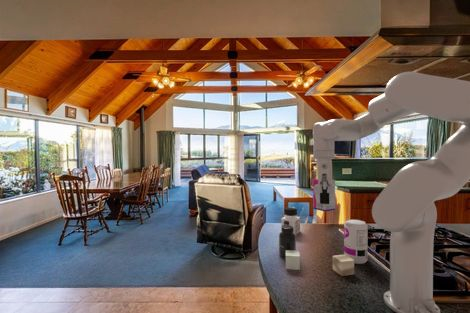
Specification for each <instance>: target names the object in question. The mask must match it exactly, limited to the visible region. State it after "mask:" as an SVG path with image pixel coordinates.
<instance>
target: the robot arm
mask: <svg viewBox="0 0 470 313" xmlns="http://www.w3.org/2000/svg"><path fill="white" fill-rule="evenodd" d="M367 110H368V112H367V113H365V114H364V115H362V116H360V117H357V118H354V119H345V118H343V119H341V118H334V119H329V120H327V121H320V122H316V123H314V124H313V126H312V136H313V137H312V138H313V139H312V145H313V146H312V147H313V148H312V149H313V152H312V153H313V156H312V158H313V160H316V176H317V178H316V179H318V184H319V186H320V189H321V193H320V204H329V187H328V186H329V185H330V186H332V185H333V184H332V179H333V162H332V160H335V142H343V141H344V142H345V141H346V142H353V141H358V140H361V139H364V138H366V137H368V136H372V135H373V134H376V133H377V132H379V131H380V130H381V129H383V128H384V127H385V126H386V125H388V124H391V123H393V122H395V121H397V120H400V119H402V118H406V117H407V116H409V115H412V114H414V113H416V114H420V115H423V116H427V117H430V118H433V119H437V120H440V121H445V122H451V123H457V124H459V123H460V124H461V125H460V128H459V129H458V130H456V131H455V132H454V133H453V134H452V135H451V136H449V137H448V139H446V140H445V142H444V143H443V144H442V145H441V146H440V148H438V150H437V151H436V152H435V153H434V154H433V155H431V157H430V158H429V159H427V160H426V159H425V160H418V161H414V162H411V163H408V164H407V165H405V166H403V167H402V168H401V169H399V170H398V172H396V173H395V175H394V176H393V177H392V178H391V180H390V181H389V182H388V183H387V185H386V186H385V187H384V188H383V190H382V191H381V192H380V193H379V194H378V196H376V198H375V199H374V202H373V204H372V208H371V214H372V215H371V216H372V218H373V221H374V223H376V225H377V226H378V227H379V228H381V229H382V230H384V231H387V232H390V238H389V239H390V240H389V290H388V291H387V290H386V292H384V293H383V302H384V303H385V305H386V306H387V307H388V308H389V309H390V310H392V311H393V312H395V313H441V309H440V307H439V306H438V304H436V303H435V300H434V298H433V296H434V295H433V292H434V279H433V278H434V238H435V230H436V224H437V219H438V211H437V207H436V204H435V202H436V201H439V200H444V199H448V198H451V197H453V196H454V195H456V194H457V193H459V191H460V190H461V189H462V188H464V186H465V185H466V184H467V183H468V182H469V181H470V80H469V81H468V80H463V79H457V78H450V77H443V76H438V75H431V74H426V73H421V72H417V71H405V72H401V73H398V74H397V75H395V76H393V77H392V78H391V79H390V80H389V81H388V83H387V84H386V86H385V89H384V93H382V94H380V95H378V96H377V97H374V98H373V99H371V100H370V101H369V102H368V106H367ZM321 181H322V183H323V184H321ZM328 183H329V185H328Z"/></svg>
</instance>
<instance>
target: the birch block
mask: <svg viewBox="0 0 470 313" xmlns="http://www.w3.org/2000/svg"><path fill="white" fill-rule="evenodd" d="M332 270H333V271H334V272H335V273H336V274H338V275H339V276H341V277H344V276H345V277H346V276H350V275H351V276H352V275H355V263H354V260H353V259H351V258H350V257H348V256H347V255H345V254H344V253H343V254H338V255H337V254H336V255H332Z"/></svg>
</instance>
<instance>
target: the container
mask: <svg viewBox="0 0 470 313" xmlns="http://www.w3.org/2000/svg"><path fill="white" fill-rule="evenodd" d="M283 210H284V212H283V214H284V216H283V217H281V219H280V222H281V223H280V224H281V226H280V228H281V229H282V226H283V225H291V226H293V230H294V232H293V233H294V234H295V235H296V236H297V234H299V233H300V232H301V217H300V216H298V208H296V207H293V206H287V207H285V208H284V209H283ZM281 232H282V231H281ZM281 232H280V233H281Z"/></svg>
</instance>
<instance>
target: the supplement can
mask: <svg viewBox="0 0 470 313" xmlns="http://www.w3.org/2000/svg"><path fill="white" fill-rule="evenodd" d="M344 254H345V255H347V256H348V257H350V258H351V259H353V260H354V265H355V264H356V265H362V264H363V265H364V264H365V263H366V262H367V261H368V225H367V224H366V221H364V220H360V219H351V218H350V219H346V220H345V222H344V224H343V255H344Z"/></svg>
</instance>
